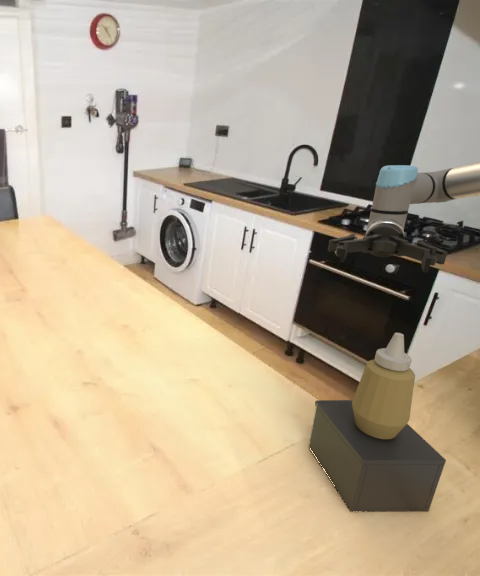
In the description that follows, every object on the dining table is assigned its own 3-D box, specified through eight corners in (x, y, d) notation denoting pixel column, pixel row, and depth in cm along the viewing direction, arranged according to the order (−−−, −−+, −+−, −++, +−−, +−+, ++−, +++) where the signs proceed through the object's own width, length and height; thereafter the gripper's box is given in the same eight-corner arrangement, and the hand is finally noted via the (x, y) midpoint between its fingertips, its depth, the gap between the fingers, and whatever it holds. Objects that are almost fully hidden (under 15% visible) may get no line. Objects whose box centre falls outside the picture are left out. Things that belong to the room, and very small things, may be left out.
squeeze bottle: (362, 408, 75) (383, 319, 69) (413, 432, 69) (441, 337, 63) (338, 424, 71) (358, 331, 65) (389, 452, 65) (417, 352, 59)
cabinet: (308, 448, 81) (317, 403, 77) (373, 447, 80) (385, 402, 77) (350, 511, 67) (363, 460, 63) (428, 511, 67) (446, 460, 63)
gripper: (448, 260, 90) (461, 289, 74) (321, 247, 103) (308, 269, 87) (458, 227, 88) (473, 249, 71) (326, 217, 101) (314, 234, 84)
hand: (383, 260), depth 79 cm, fingers open, 13 cm apart
